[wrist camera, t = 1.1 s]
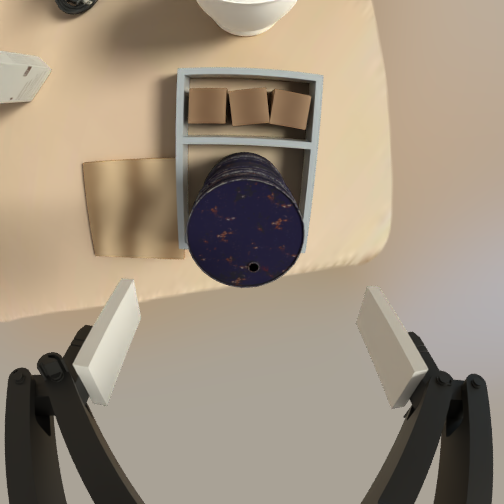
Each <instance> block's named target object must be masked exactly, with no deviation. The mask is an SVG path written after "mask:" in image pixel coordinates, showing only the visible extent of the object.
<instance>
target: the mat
mask: <svg viewBox="0 0 504 504" xmlns="http://www.w3.org/2000/svg"><path fill="white" fill-rule="evenodd" d="M83 173H84V183H85V192H86V201H87V208H88V215H89V222H90V228H91V234H92V240H93V246H94V251H95V256H108V257H132V258H158V259H184V258H185V252H184V249H179V239H178V220H177V194H176V158H147V159H125V160H110V161H96V162H85V163H83Z"/></svg>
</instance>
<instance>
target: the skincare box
mask: <svg viewBox="0 0 504 504" xmlns="http://www.w3.org/2000/svg"><path fill="white" fill-rule="evenodd" d="M51 70H52V69H51V68H50V67H49V66H48V65H47V64H46V63H45V62H44V61H43V60H42V59H41V58H40V57H39V56H33V55H26V54H20V53H13V52H5V51H0V103H13V102H30V101H31V100H32V99H33V98H34V97H35V95H36V94H37V92H38V91H39V89H40V88H41V86H42V85H43V83H44V82H45V80H46V79H47V77H48V76H49V74H50V73H51Z"/></svg>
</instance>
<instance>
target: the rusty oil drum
mask: <svg viewBox="0 0 504 504" xmlns="http://www.w3.org/2000/svg"><path fill="white" fill-rule="evenodd" d="M304 237H305V229H304V222H303V219H302V215H301V213H300V211H299V209H298V206H297V203H296V201H295V199H294V197H293V195H292V194H291V192H290V190H289V189H288V187H287V186H286V184H285V182H284V180H283V178H282V176H281V174H280V173H279V171H278V170H277V169H276V168H275V166H274V165H273V164H272V163H271V162H270V161H269V160H267V159H266V158H264V157H262V156H260V155H258V154H254V153H249V152H240V153H235V154H232V155H229V156H227V157H225V158H223V159H222V160H221V161H219V162H218V163H217V164H216V165H215V166H214V168H213V169H212V170H211V172H210V173H209V175H208V176H207V178H206V181H205V183H204V186H203V187H202V189H201V190H200V192H199V194H198V196H197V198H196V200H195V203H194V205H193V208H192V211H191V214H190V216H189V219H188V223H187V230H186V238H187V245H188V248H189V251H190V254H191V256H192V258H193V260H194V261H195V263H196V264H197V266H198V267H199V268H200V269H201V270H202V271H203V272H204V273H205V274H207V275H208V276H209V277H211V278H212V279H214V280H216V281H218V282H220V283H223V284H225V285H229V286H233V287H241V288H249V287H257V286H261V285H265V284H268V283H270V282H273V281H275V280H276V279H278V278H280V277H281V276H283V275H284V274H285V273H286V272H287V271H289V270H290V268H291V267H292V266H293V265H294V264H295V262H296V261H297V259H298V258H299V255H300V253H301V251H302V248H303V244H304Z"/></svg>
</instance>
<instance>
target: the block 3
mask: <svg viewBox="0 0 504 504" xmlns="http://www.w3.org/2000/svg"><path fill="white" fill-rule="evenodd" d="M310 102H311V96H309V95H304V94H300V93H295V92H290V91H284V90H279V89H274V90H273V91H272V94H271V100H270V106H269V120H270V124H276V125H282V126H287V127H293V128H298V129H303V130H305V129H306V124H307V118H308V113H309V107H310Z"/></svg>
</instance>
